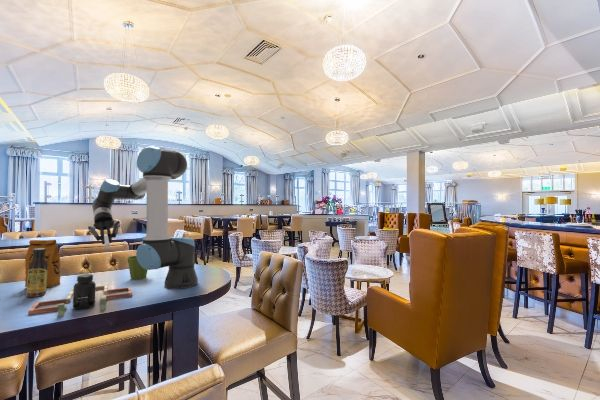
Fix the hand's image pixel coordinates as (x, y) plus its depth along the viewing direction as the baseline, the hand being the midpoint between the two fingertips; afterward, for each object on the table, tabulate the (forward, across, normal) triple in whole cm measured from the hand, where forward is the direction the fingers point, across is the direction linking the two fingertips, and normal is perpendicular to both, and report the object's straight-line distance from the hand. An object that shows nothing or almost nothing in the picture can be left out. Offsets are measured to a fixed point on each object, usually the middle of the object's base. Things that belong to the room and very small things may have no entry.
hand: (107, 246), depth 128 cm
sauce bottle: (-3, +29, -20) cm, 35 cm away
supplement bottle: (+23, +11, -9) cm, 27 cm away
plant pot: (-9, -9, -32) cm, 35 cm away
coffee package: (-18, +29, -29) cm, 45 cm away
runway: (+15, +11, -13) cm, 22 cm away
